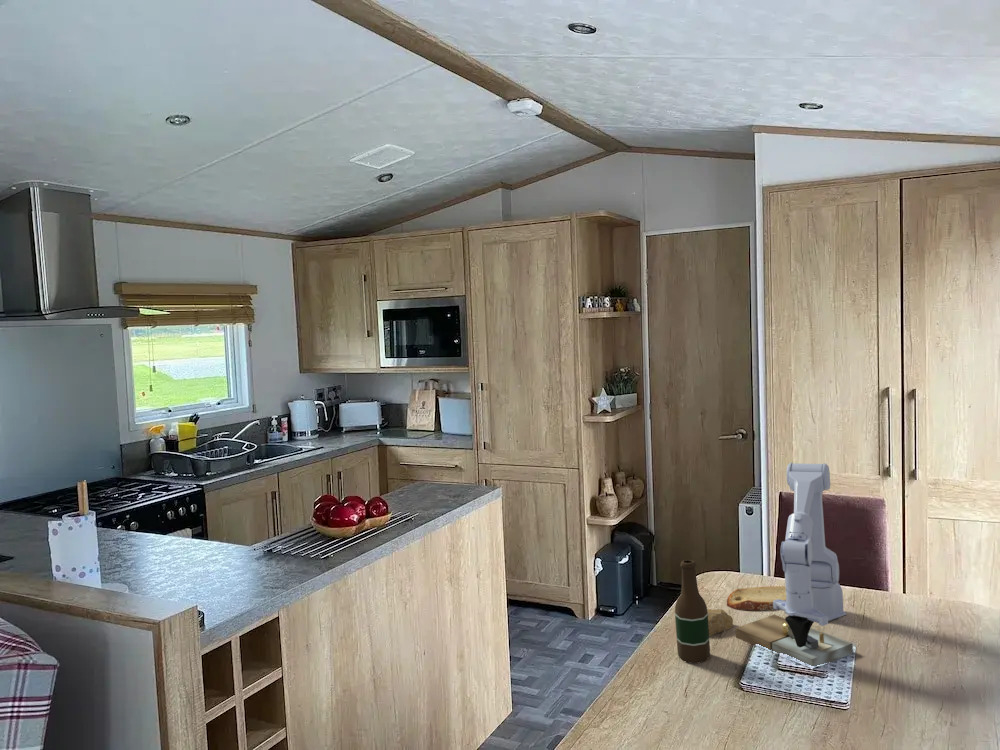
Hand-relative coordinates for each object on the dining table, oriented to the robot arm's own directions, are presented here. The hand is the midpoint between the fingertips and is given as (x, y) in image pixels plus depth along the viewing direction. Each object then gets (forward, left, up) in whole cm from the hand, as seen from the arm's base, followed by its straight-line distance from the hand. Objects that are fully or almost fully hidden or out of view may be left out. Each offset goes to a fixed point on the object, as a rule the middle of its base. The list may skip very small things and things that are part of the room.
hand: (801, 645), depth 192 cm
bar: (-3, -3, -1) cm, 5 cm away
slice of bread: (-22, -32, -4) cm, 39 cm away
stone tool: (+3, -26, -4) cm, 27 cm away
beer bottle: (+18, -17, -3) cm, 25 cm away
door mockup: (-5, -8, -3) cm, 10 cm away
